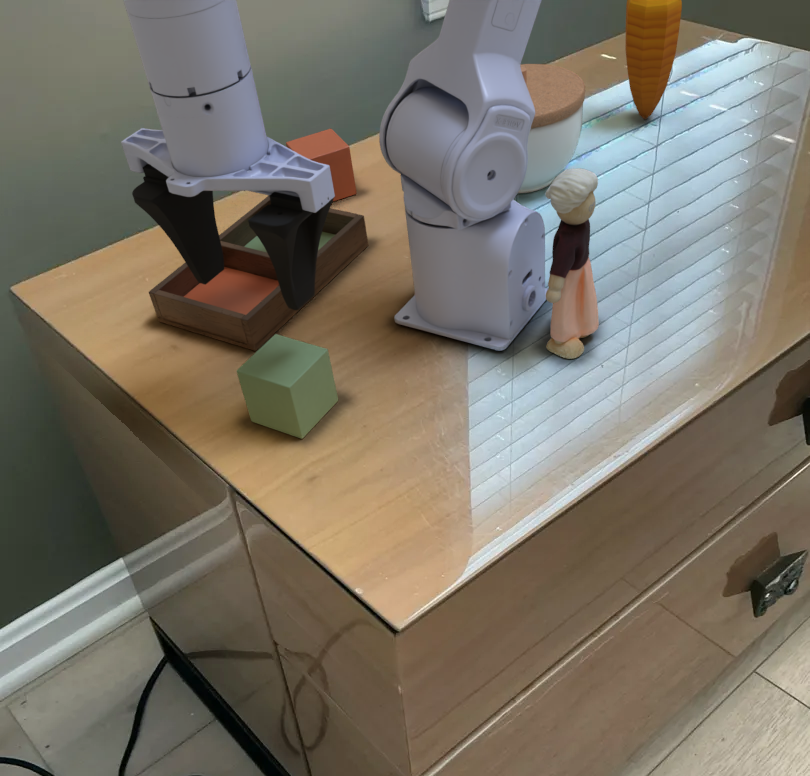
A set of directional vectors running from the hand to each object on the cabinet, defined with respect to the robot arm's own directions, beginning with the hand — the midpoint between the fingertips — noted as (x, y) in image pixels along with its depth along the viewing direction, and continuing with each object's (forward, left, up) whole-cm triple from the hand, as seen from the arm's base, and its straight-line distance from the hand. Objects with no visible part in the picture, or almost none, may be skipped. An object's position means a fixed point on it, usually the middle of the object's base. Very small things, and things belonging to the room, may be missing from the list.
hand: (255, 288), depth 62 cm
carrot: (-8, -48, -9) cm, 50 cm away
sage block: (-2, +1, -9) cm, 9 cm away
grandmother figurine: (-16, -14, -9) cm, 23 cm away
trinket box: (-2, -34, -9) cm, 35 cm away
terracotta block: (+14, -26, -8) cm, 30 cm away
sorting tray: (+10, -11, -8) cm, 17 cm away
